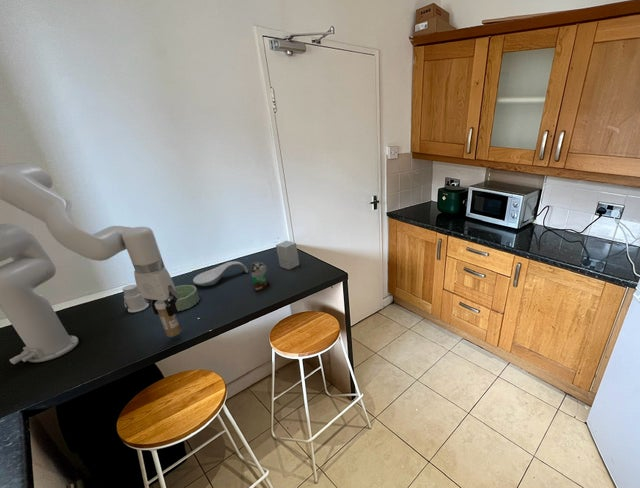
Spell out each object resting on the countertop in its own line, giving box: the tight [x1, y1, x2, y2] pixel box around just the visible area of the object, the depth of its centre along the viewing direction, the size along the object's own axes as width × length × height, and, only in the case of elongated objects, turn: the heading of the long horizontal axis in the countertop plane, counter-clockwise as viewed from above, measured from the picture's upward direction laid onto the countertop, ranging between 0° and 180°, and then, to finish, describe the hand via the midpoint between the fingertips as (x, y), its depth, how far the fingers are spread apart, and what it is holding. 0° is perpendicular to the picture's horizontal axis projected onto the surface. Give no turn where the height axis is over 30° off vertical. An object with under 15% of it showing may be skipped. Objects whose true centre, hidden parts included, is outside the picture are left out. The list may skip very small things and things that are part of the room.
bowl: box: [169, 284, 201, 312], centre depth 132 cm, size 14×14×6 cm
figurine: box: [250, 261, 268, 292], centre depth 145 cm, size 12×6×10 cm, turn 22°
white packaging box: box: [275, 240, 300, 270], centre depth 164 cm, size 7×7×13 cm
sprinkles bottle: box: [155, 299, 182, 338], centre depth 108 cm, size 5×5×13 cm
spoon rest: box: [192, 261, 249, 287], centre depth 151 cm, size 24×12×7 cm, turn 135°
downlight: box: [122, 284, 150, 313], centre depth 128 cm, size 8×7×10 cm
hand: (166, 312), depth 108 cm, fingers closed on sprinkles bottle, 4 cm apart
